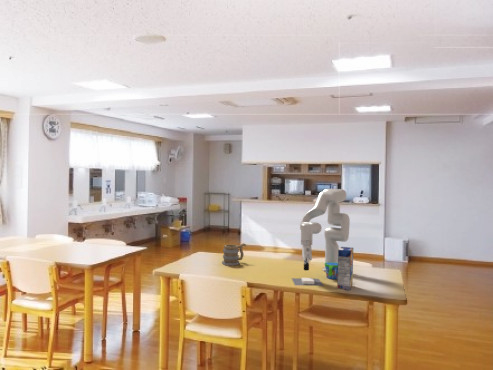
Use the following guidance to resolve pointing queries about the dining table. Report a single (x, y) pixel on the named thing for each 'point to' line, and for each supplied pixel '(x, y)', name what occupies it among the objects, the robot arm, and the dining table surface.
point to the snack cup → (331, 270)
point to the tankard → (232, 254)
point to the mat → (316, 283)
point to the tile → (307, 280)
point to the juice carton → (345, 268)
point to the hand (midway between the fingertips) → (306, 270)
